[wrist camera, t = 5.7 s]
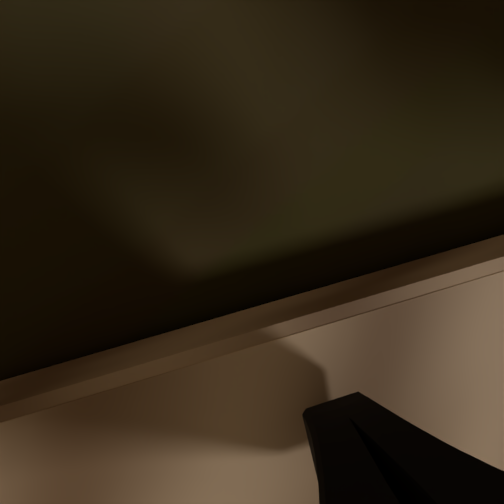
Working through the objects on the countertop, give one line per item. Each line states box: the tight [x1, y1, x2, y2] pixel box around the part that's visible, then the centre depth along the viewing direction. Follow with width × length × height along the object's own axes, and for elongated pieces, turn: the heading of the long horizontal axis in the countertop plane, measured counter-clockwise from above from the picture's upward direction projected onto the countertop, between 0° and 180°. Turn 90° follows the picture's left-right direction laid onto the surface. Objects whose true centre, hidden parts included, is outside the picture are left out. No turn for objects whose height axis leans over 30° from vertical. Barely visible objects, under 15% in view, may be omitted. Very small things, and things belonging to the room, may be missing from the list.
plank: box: [0, 235, 504, 504], centre depth 11 cm, size 18×8×1 cm, turn 104°
